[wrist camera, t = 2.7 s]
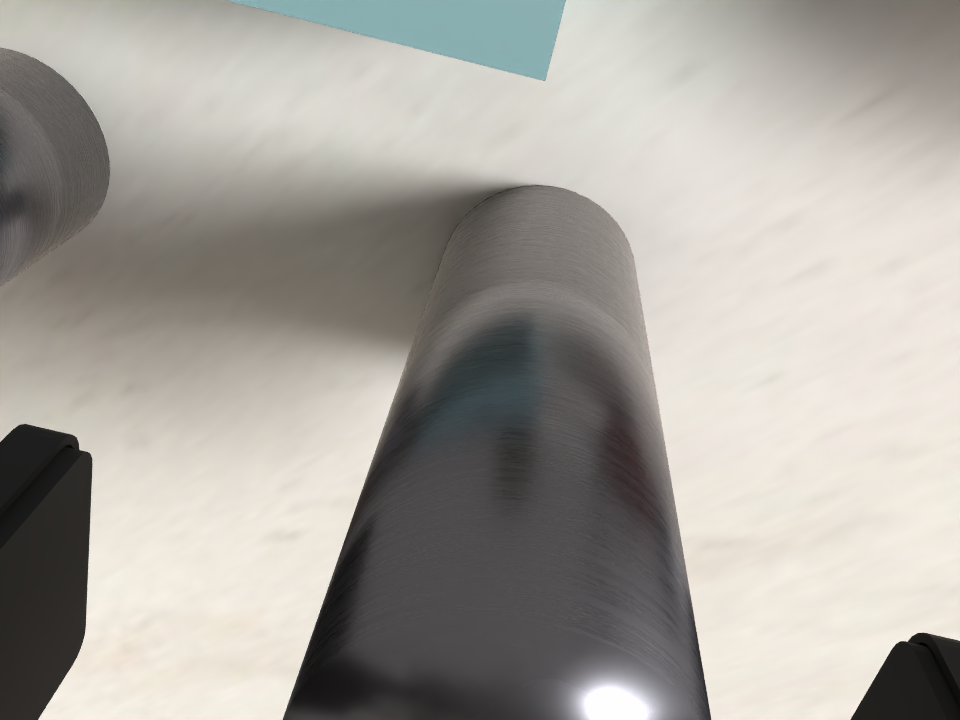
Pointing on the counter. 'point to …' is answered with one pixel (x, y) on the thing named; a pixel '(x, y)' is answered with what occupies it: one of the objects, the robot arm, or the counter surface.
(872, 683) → the robot arm
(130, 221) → the counter surface
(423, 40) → the socket block
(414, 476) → the long pin
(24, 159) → the short pin
